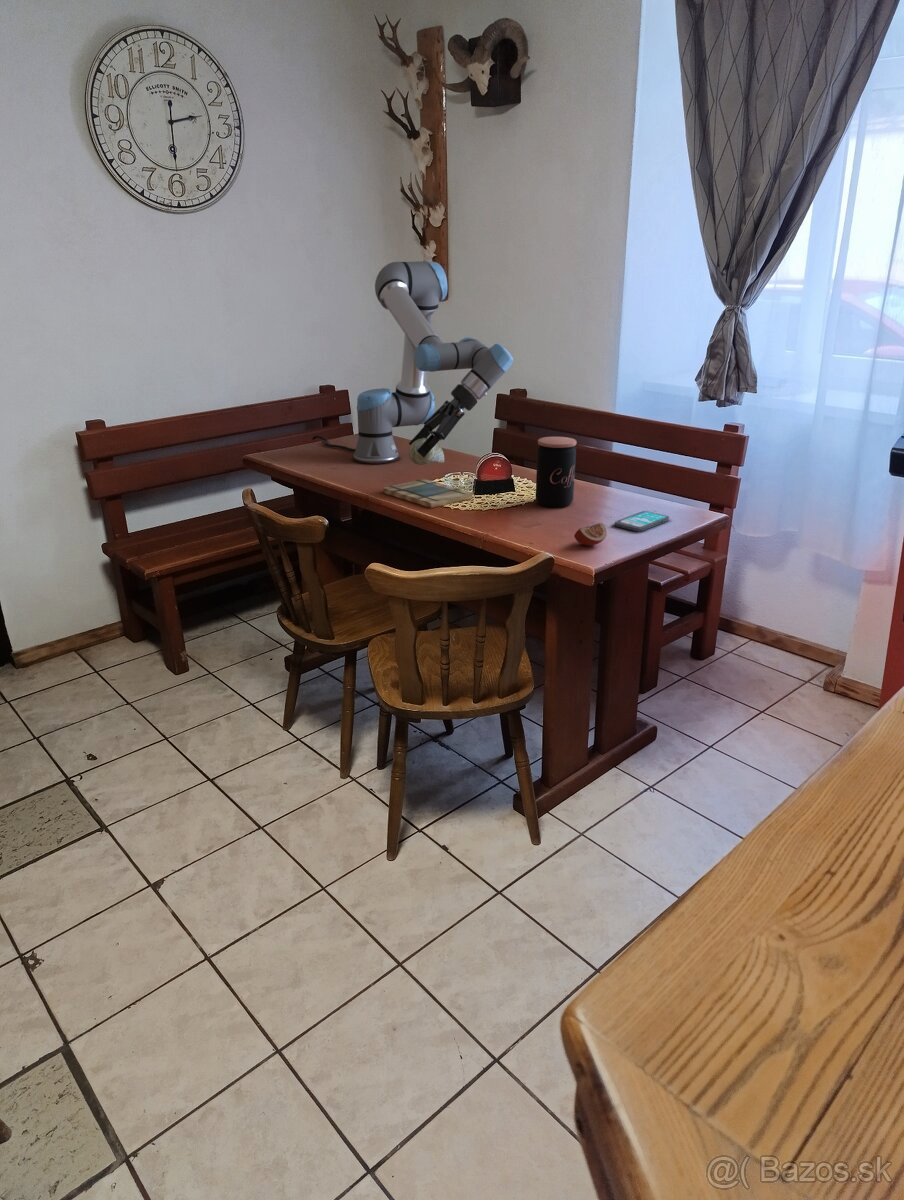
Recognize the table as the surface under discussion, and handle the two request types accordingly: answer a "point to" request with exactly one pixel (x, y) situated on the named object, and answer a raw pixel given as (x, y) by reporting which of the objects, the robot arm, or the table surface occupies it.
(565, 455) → the coffee jar
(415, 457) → the seashell
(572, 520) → the table surface
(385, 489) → the board
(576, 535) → the fruit slice
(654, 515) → the smartphone
